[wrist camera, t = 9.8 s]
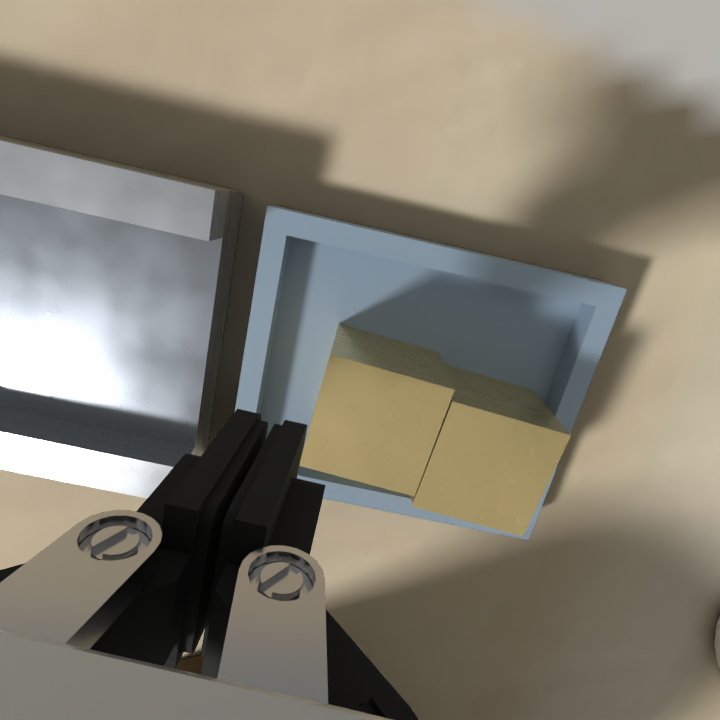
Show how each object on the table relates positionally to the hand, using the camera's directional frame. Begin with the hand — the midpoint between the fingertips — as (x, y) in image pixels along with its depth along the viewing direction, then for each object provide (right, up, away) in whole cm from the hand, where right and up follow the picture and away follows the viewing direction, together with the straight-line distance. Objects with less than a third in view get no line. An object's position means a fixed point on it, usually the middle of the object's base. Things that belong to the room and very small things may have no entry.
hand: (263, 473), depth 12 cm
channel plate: (-11, +5, +8) cm, 14 cm away
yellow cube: (+3, +2, +8) cm, 9 cm away
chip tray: (+4, +2, +8) cm, 10 cm away
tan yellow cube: (+7, 0, +8) cm, 11 cm away
